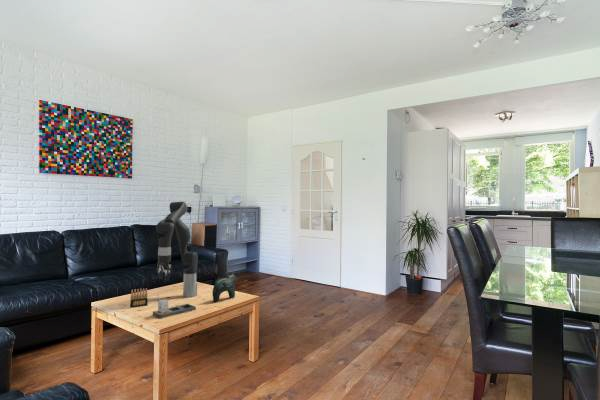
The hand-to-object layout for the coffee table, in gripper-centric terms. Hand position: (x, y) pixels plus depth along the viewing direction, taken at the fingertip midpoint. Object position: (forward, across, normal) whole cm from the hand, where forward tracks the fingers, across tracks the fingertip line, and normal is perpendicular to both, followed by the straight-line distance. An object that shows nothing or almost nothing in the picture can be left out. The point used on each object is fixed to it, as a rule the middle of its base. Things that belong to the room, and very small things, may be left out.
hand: (163, 280), depth 208 cm
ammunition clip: (+22, +29, +2) cm, 36 cm away
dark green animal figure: (+22, +1, -48) cm, 53 cm away
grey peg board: (+22, 0, -8) cm, 23 cm away
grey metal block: (+22, 0, 0) cm, 22 cm away
